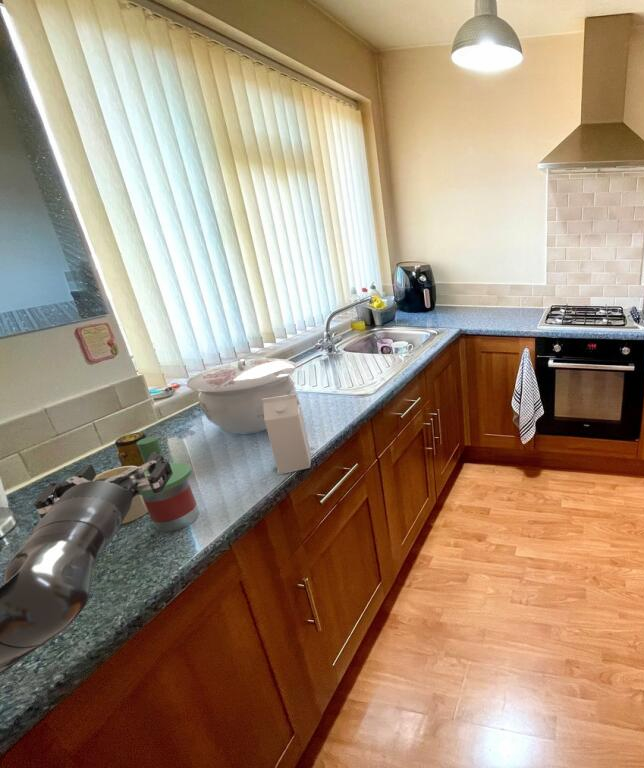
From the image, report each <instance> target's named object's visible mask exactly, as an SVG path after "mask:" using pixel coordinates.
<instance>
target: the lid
mask: <svg viewBox="0 0 644 768" xmlns="http://www.w3.org/2000/svg"><path fill="white" fill-rule="evenodd" d="M136 444H137V446H138V449H139V451H140V454H141V456H142V458H143V461H144V463H146V462H147V460H148V458H149V457H150V455H151V454H152V453H153V452H158V453H159V454H162V456H163V459H164V460H166V458H165V455H164V452H163V450H162V447H161V445H160V442H159V440H158V438H157V436H148V437H147V436H146V438H144V439H141V440H139V441H138V442H137V443H136ZM169 464H170V467H171V469H172V472H173V474H172V475H171V477H170V479H169V480H168V482H167V484H166V485H165V487H164V488H163V490H162V491H165V490H168V489H171V488H173V487H175V486H177V485H179V484H181V483H182V482H184V481H185V480H188V479H189V478H190V477H191V476H192V473H193V469H192V467H191V465H190V464H189V463H186V462H169ZM144 474H145V476H146V475H148V474H150V473H149V471H148V469H147V471H145V472H144ZM133 479H134V480H135V478H133ZM162 491H160V492H162ZM158 493H159V492H158ZM149 494H154V493H153V491H152V489H148V490H143V491H140V493H139V494H138V495H149Z"/></svg>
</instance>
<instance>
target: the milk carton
mask: <svg viewBox="0 0 644 768" xmlns="http://www.w3.org/2000/svg"><path fill="white" fill-rule="evenodd" d="M262 400H263V407H264V421H265V424H266V428H267V430H266V432H267V435H268V439H269V443H270V447H271V450H272V454H273V458H274V462H275V466H276V469H277V473H278V475H283V474H287V473H293V472H298V471H302V470H307V469H310V468H311V464H312V450H311V447H310V442H309V438H308V433H307V429H306V424H305V420H304V415H303V409H302V406H301V403H300V401H299V399H298V396H297V393H296V394H292V395H285V396H279V397H272V398H265V399H262Z"/></svg>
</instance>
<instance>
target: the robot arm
mask: <svg viewBox="0 0 644 768" xmlns="http://www.w3.org/2000/svg"><path fill="white" fill-rule="evenodd" d="M147 469H148V471H149V473H150V474H148V475H146V476H145V474H144V471H145V470H147ZM172 474H173V472H172V469H171V467H170V461H169V459H165V460H164V459H163V456H162V454H159V453H158V452H153V453H152V454H151V455H150V457H149V458H148V460H147V462H146V463H145V464H144V465H142V466H140V467H132V468H130V469H128V470H126V471H124V472H122V473H121V474H119V475H116V476H112V477H109V478H102V479H97V480H95V481H92V480H93V479H94V478H95V477H96V475H97V472H96V471H95V469H94V466H93V464H87V465H84V466H83V467H82V468H81V469H80V470H78V471H76V473H75V474H74V475H73V476H71V477H68V478H67V479H66V480H65V482H61V483H60V481H55V482H51V483H49V484H48V485H47V486H46V487H45V488H44V490H43V491H42V492H41V494H39V496H38V497H37V498H36V499H35V501H34V502H33V506H34V508H35V510H36V512H37V514H38V515H39V517H40V520H39V521H38V523H37V524H36V525H35V527H34V529H33V530H32V532H31V534H30V535H29V537H28V538H27V539H26V540H25V541H24V542H23V544H22V545H21V546H20V547H19V549H18V550H16V552H15V553H14V555H13V556H12V557H11V559H10V560H9V561H8V563H7V566H6V568H5V569H4V574H3V582H4V583H3V584H2V585H1V586H0V675H2V674H3V673H6V672H7V671H8V670H9V669H11V668H13V667H14V666H16V665H17V664H19V663H20V662H21V661H22V660H24V659H25V658H27V657H28V656H29V655H31V654H32V653H33V652H35V651H36V650H38V649H39V648H40V647H42V646H44V645H45V644H46V643H47V642H49V641H50V640H51V639H53V638H54V637H56V636H57V635H59V634H60V633H61V632H63V631H64V630H65V629H66V628H68V627H69V626H70V625H71V624H72V623H73V622H74V621H75V620H76V619H77V617H78V616H79V615H80V614H81V612H82V611H83V610H84V608H85V606H86V605H87V603H88V601H89V598H90V594H91V586H92V580H93V568H94V567H95V566H96V563H97V562H98V560H99V558H100V557H101V555H102V554H103V552H104V550H105V549H106V547H108V546H109V545H110V543H111V542H112V540H113V539H114V537H115V536H116V534H117V532H118V530H119V528H120V527H121V525H122V524H121V523H122V522H123V520H124V518H125V516H126V515H127V513H128V511H129V509H130V506H131V503H132V499H133V498H134V497H135V496H136V495H138V494H139V493H140V491H143V490H148V489H152V491H153V493H158V492H160V491H162V490H163V488H164V487H165V485H166V484H167V482H168V480H169V479H170V477H171V475H172ZM131 475H133V476H134V478H135V480H134V479H132V478H130V477H129V476H131ZM2 549H3V548H2V544H1V543H0V554H1V552H2Z"/></svg>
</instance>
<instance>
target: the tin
mask: <svg viewBox="0 0 644 768" xmlns="http://www.w3.org/2000/svg"><path fill="white" fill-rule="evenodd" d="M194 495H195V494H194V493H193V489H192V486H191V484H190V483H189V480H188V479H187V480H185V481H184V482H182V483H181V484H179V485H177V486H175V487H173V488H171V489H168V490H165V491H162V492H159V493H154V494H149V495H142V497H143V500H144V503H145V505H146V507H147V510H148V515H149V517H150V519H151V520H152V523H153V525H154V528H155V530H156V531H157V532H159V533H172V532H176V531H179V530H182V529H185V528H186V527H188V526H189V525H191V524H192V523H194V522H195V521H197V520H198V518H199V516H200V510H199V508H198V504H197V500H196V498H195V496H194Z"/></svg>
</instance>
